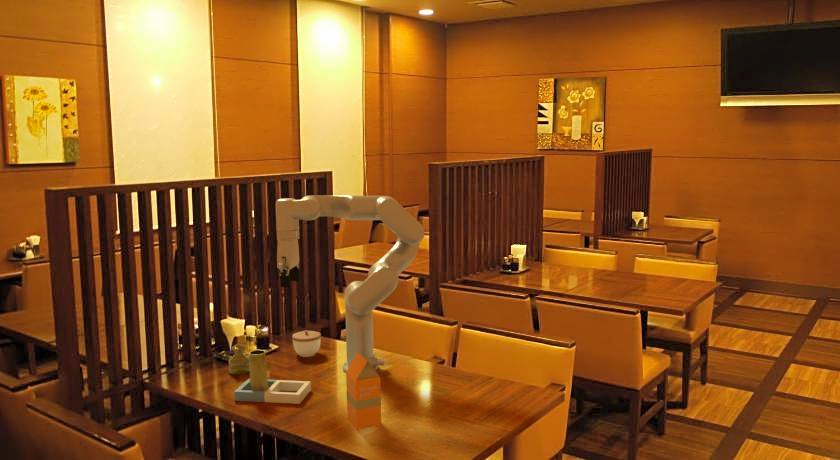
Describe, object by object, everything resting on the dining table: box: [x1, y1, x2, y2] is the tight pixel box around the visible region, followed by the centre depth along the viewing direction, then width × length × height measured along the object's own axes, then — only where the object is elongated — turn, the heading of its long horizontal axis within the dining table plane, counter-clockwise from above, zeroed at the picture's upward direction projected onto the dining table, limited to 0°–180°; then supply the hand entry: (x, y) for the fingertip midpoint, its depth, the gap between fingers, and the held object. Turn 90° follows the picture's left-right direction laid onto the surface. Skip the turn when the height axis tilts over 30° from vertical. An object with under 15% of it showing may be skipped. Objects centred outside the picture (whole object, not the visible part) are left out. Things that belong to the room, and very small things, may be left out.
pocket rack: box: [233, 378, 312, 405], centre depth 227 cm, size 22×12×3 cm, turn 81°
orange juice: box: [345, 353, 382, 430], centre depth 205 cm, size 8×9×20 cm
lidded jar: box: [291, 329, 322, 358], centre depth 267 cm, size 11×11×9 cm
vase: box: [248, 349, 269, 391], centre depth 227 cm, size 6×6×14 cm
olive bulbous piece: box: [228, 343, 250, 376], centre depth 249 cm, size 7×7×10 cm
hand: (290, 283), depth 242 cm, fingers open, 9 cm apart
